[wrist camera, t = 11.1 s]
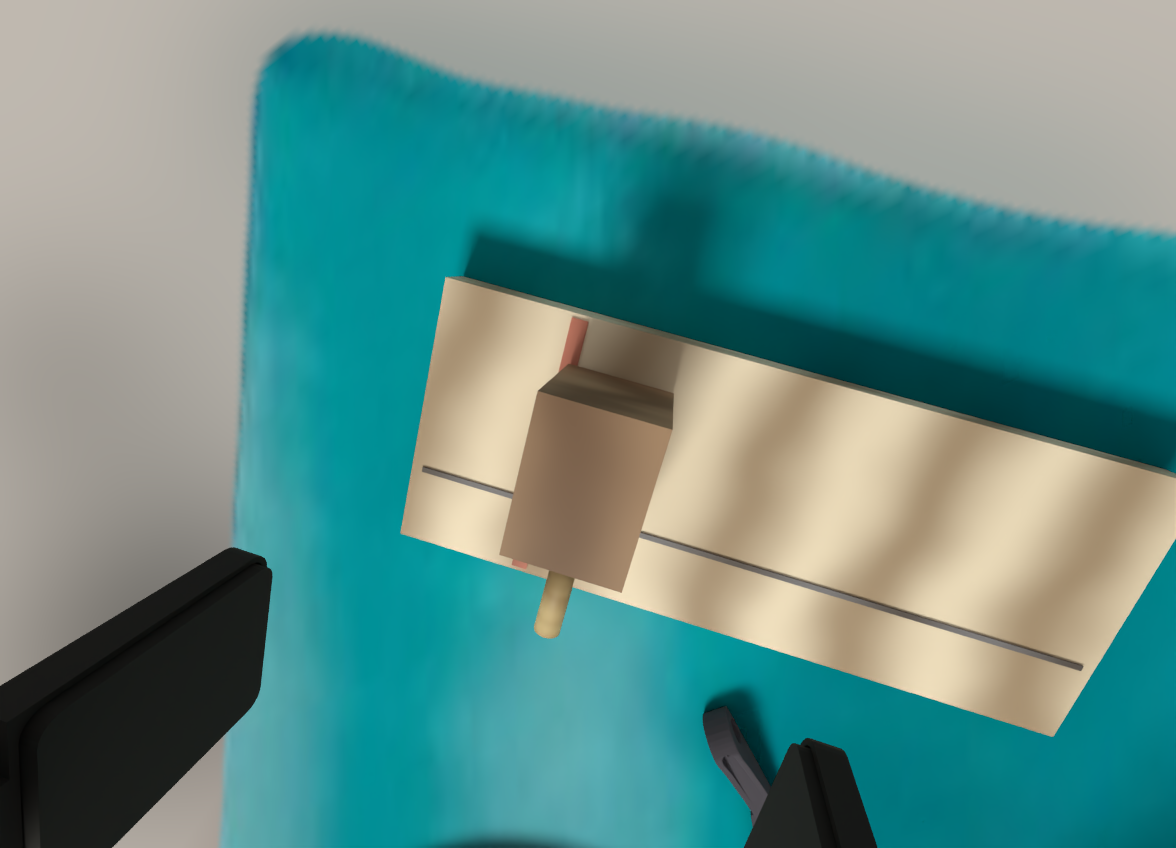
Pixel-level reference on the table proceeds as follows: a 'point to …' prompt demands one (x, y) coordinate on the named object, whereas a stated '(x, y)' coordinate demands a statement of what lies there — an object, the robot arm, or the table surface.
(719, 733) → the bracket
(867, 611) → the board
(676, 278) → the table surface
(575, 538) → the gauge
